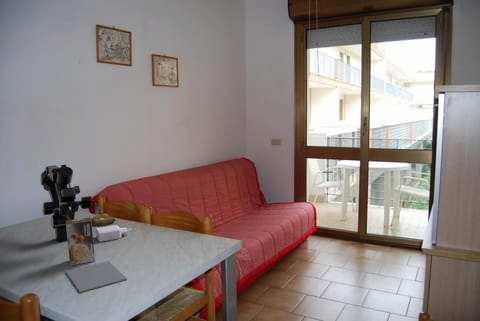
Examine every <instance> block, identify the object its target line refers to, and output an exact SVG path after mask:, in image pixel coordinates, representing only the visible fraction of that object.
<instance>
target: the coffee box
mask: <svg viewBox="0 0 480 321" xmlns="http://www.w3.org/2000/svg"><path fill="white" fill-rule="evenodd" d="M91 218H92V217H84V218H76V219H75V218H74V220H66V230H67V240H66V241H67V248H68V250H67V251H68V260H69V266H75V265H80V264H88V263H93V262H96V256H95V247H94V246H95V244H94V243H95V242H94V234H93V224H92V223H93V221H92V220H91Z"/></svg>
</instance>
